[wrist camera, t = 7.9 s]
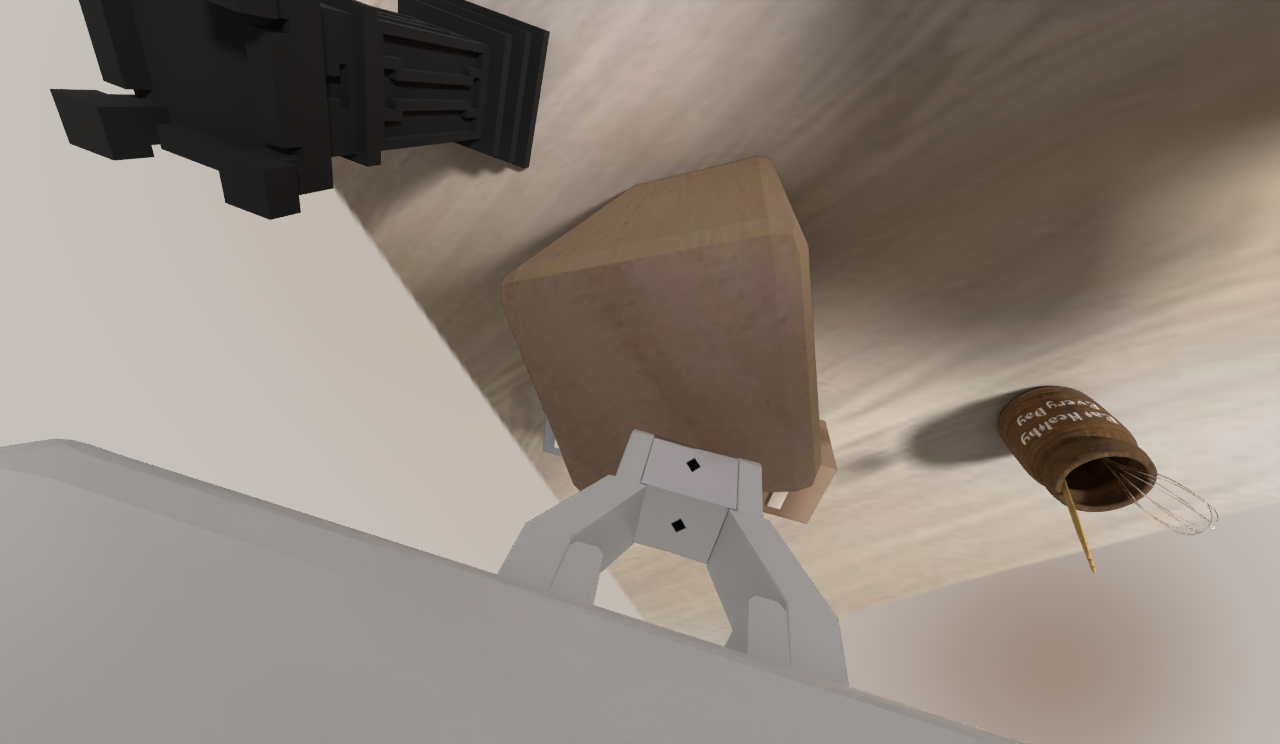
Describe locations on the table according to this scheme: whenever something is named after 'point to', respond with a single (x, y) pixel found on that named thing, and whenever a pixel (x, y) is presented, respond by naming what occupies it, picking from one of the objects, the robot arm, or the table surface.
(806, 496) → the walnut numbered cube
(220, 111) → the chess piece
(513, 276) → the block
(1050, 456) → the utensil holder
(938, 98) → the table surface
